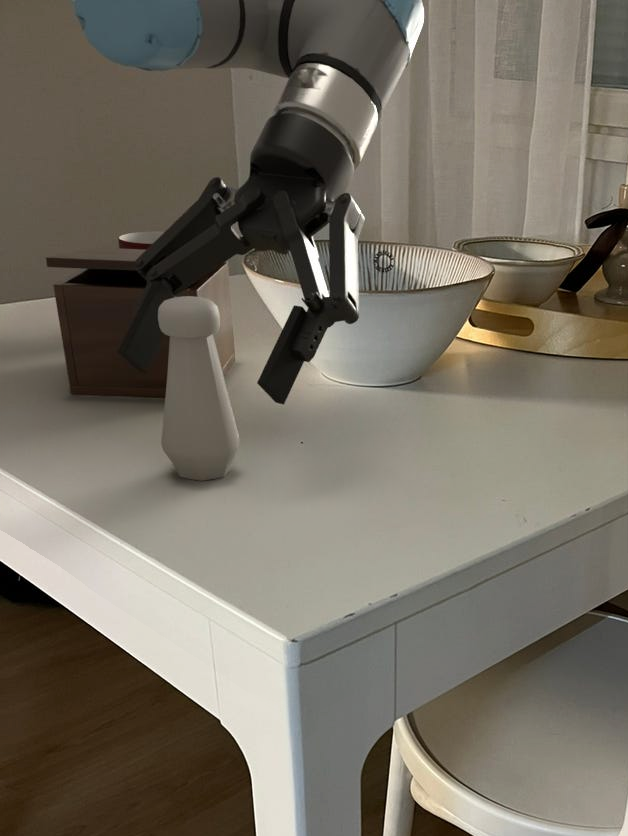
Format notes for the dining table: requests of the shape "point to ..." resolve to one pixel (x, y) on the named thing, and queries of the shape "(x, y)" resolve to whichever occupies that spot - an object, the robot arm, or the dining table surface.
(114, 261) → the chest lid
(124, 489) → the dining table surface
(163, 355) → the chest
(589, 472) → the dining table surface
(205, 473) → the salt shaker
